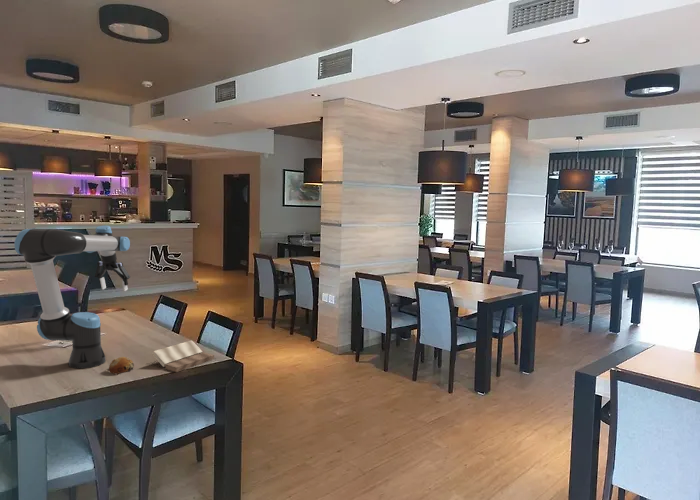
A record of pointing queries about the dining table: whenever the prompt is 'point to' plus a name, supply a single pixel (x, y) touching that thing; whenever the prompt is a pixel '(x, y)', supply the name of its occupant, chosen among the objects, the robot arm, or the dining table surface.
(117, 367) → the bread roll
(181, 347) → the cream corrugated panel
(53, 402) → the dining table surface
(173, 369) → the walnut plank
